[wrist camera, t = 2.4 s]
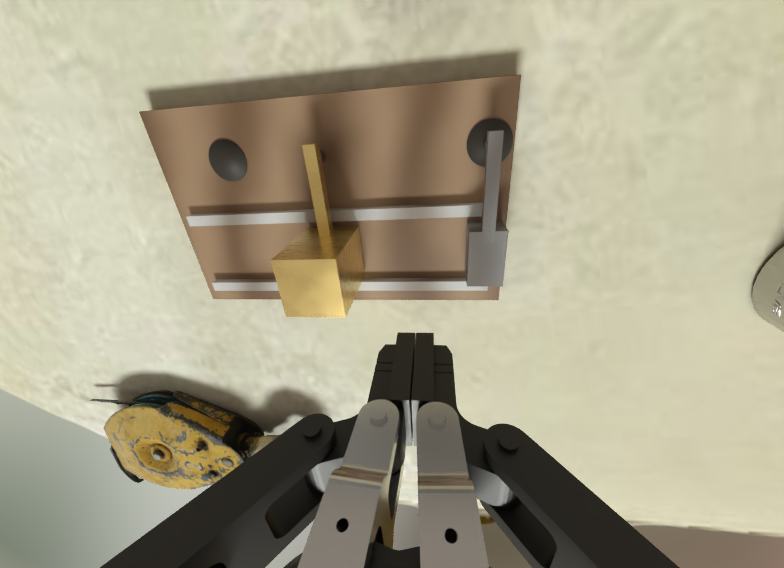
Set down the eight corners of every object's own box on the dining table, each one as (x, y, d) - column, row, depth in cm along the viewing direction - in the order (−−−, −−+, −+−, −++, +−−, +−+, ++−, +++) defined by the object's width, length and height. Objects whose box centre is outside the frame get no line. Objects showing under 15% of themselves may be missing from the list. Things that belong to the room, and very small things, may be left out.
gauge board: (516, 76, 19) (531, 69, 16) (495, 292, 26) (503, 316, 23) (153, 111, 23) (108, 111, 20) (221, 292, 30) (196, 313, 27)
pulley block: (327, 523, 35) (104, 499, 40) (342, 477, 41) (144, 460, 46) (308, 424, 31) (58, 409, 36) (328, 386, 36) (109, 378, 41)
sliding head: (347, 140, 20) (316, 149, 15) (364, 274, 25) (345, 317, 20) (290, 144, 21) (240, 154, 16) (317, 275, 26) (286, 316, 20)
